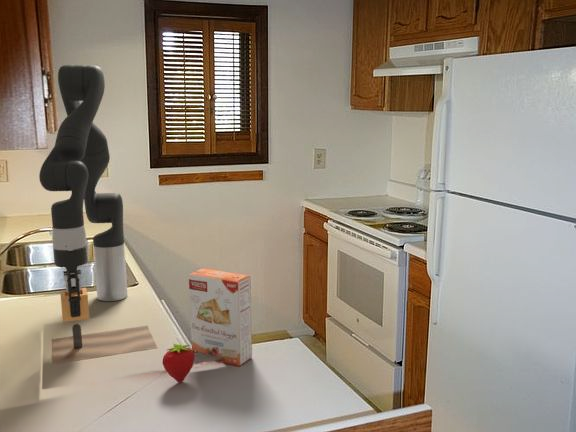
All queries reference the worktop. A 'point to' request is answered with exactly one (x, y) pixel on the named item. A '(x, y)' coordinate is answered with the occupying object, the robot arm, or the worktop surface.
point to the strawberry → (178, 361)
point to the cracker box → (221, 315)
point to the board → (100, 344)
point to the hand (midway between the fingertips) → (75, 311)
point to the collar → (66, 305)
